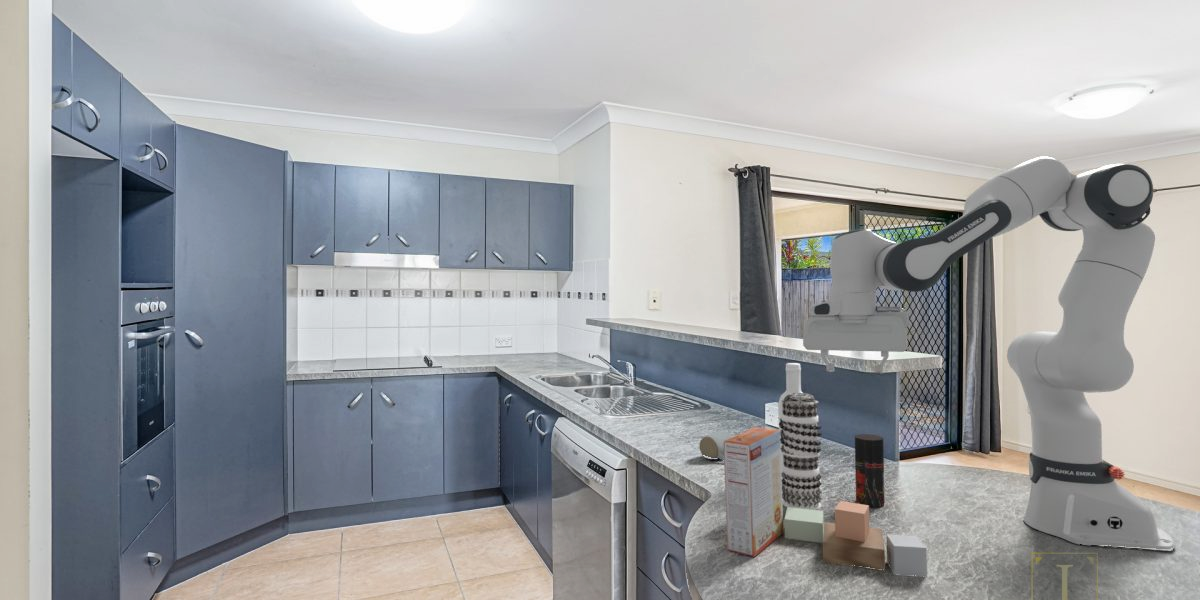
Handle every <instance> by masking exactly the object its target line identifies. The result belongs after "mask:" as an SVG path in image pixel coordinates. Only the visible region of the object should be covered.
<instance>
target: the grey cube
mask: <svg viewBox="0 0 1200 600" xmlns="http://www.w3.org/2000/svg"><path fill="white" fill-rule="evenodd" d="M885 538H886V563H887V562H888V563H887V565H888V566H889V565H890V566H889V567H891V568H890V570H891V569H892V570H893V571H892V570H891V571H892V573H893V572H894V573H893V574H900V575H899V576H904V575H914V576H913V577H918V576H924V577H923V578H927V577H928V573H927V572H928V566H927V565H928V562H927V560H928V559H927V555H928V554H927V547H926V546H925V544H924V542H922V540H921V539H920V537H918V536H916V535H908V534H907V535H903V534H890V533H889V534H888V533H887V534H886V537H885ZM915 575H916V576H915ZM925 576H926V577H925Z"/></svg>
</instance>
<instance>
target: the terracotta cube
mask: <svg viewBox="0 0 1200 600" xmlns="http://www.w3.org/2000/svg"><path fill="white" fill-rule="evenodd" d="M834 523H835V537H841V538H846V539H851V540H857V541H862V542H865V541H866V539H867V537H868V535H869V533H870V530H869V527H870V507H869V505H863V504H857V503H855V502H850V501H845V500H843V501H841V500H840V501H839V502H838V503H837V505H836V507H835V508H834Z"/></svg>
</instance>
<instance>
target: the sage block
mask: <svg viewBox="0 0 1200 600" xmlns="http://www.w3.org/2000/svg"><path fill="white" fill-rule="evenodd" d="M824 520H825V519H824V510H820V509H817V510H810V509H800V508H791V507H786V511H785V515H784V538H785V539H789V540H797V541H804V542H805V541H806V542H812V543H820V544H823V534H824V526H825V521H824Z"/></svg>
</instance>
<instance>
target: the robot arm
mask: <svg viewBox="0 0 1200 600" xmlns="http://www.w3.org/2000/svg"><path fill="white" fill-rule="evenodd" d="M1153 197H1154V184H1153V180H1152V178H1151V176H1150V175H1149V173H1148V172H1147V171H1146V170H1145V169H1144V168H1142V167H1140V166H1139V165H1135V164H1130V163H1116V164H1109V165H1104V166H1101V167H1100V168H1097V169H1092V170H1088V171H1086V172H1082V173H1080V174H1078V175H1077V174H1073V173H1071V172H1070V171H1069V170H1068V168H1067V166H1066V164H1064V163H1063V162H1061V160H1058V159H1057V158H1053V157H1049V156H1039V157H1036V158H1033V159H1030V160H1027V161H1024V162H1022V163H1020V164H1017V165H1015V166H1013V167H1011V168H1009V169H1008V170H1005V171H1003V172H1001V173H1000V174H998V175H996V176H994V177H993V178H992V179H990V180H988V181H986V182H985V183H983V184H982V185H981V186H979V187H978V188H977V189H975V191H973V192H972V193H970V194H969V196H967V198H966V199H965V201H964V206H963V213H964V214H963V215H962V216H960V217H958V218H957V219H955V220H953V221H952V222H951V223H949V224H948V225H946V226H945V227H943V228H941V229H940V230H938V231H937V232H935V233H933V234H932V235H929V236H925V237H918V238H911V239H907V240H905V241H901V242H899V243H897V242H896V241H891V240H889V239H886V238H884V237H882V236H880V235H879V234H876V232H875V233H874V232H873V231H872V230H871V229H870V228H859V229H852V230H850V231H847V232H842V233H840V234H839V235H837V236H835V237H834V239H833V240H832V243H831V248H830V261H829V262H830V264H829V265H830V266H829V268H830V269H829V271H830V272H829V273H830V276H831V279H832V280H831V281H832V285H831V290H830V298H829V299H828V300H822V301H821V302H819V303H815V304H812V305H810V306H809V307H808V314H809V315H810V317H808V318H807V319H806V321H805V323H804V328H803V336H802V337H803V338H802V346H803V347H804V349H806V350H807V351H820V357H821V358H822V360H823V361H824V363H825V364H826V368H825V369H826V373H827V372H828V373H829V372H831V373H833V372H835V370H836V369H835V362H831V361H830V360H829V358H828V356H829V353H830V352H829V351H843V352H844V351H845V352H846V351H847V352H850V351H851V352H854V351H856V352H880V357H881V358H882V359H881V361H880V362H879V364H878V363H874V368H875V369H874V373H875V374H881V375H883V374H884V365H885V363H886V362H887V361H888V359H889V353H891V352H893V353H894V352H895V353H896V352H897V353H903V352H905V351H906V350H907V349H908V346H909V345H908V343H909V342H908V334H907V329H906V328H907V327H908V326H909V324H910V314H909V312H908V311H907V310H906V309H905V308H902V307H901V306H896V305H895V306H881V305H880V306H877V289H878V288H882V289H885V290H889V291H907V292H912V293H914V292H915V293H916V292H923V291H926V290H928V289H930V288H932V287H933V286H935V285H936V284H937V283H938V282H939V281H940V279H941V278H942V277H943V276H944V274H945V273H946V271H947V270H948V268H950V266H951V265H953V263H954V262H955V261H957V260H958V259H960V258H961V257H963V256H964V255H966V254H968V253H970V252H971V251H972V250H974V249H975V248H977V247H978V246H980V245H982V244H983V243H985V242H987V241H988V240H989V239H993V238H995V237H998V236H1000V235H1004V234H1006V233H1008V232H1010V231H1011V232H1012V231H1013V230H1015V229H1017V228H1019V227H1021V226H1023V225H1024V224H1026V223H1028V222H1030V221H1031V220H1033V219H1034V218H1036V217H1038V216H1039V217H1040V219H1041V220H1042V221H1043V222H1044V223H1045V224H1046V225H1047V226H1048V227H1050V228H1053V229H1055V230H1057V231H1062V232H1076V231H1077V232H1078V231H1082V236H1083V242H1082V246H1081V249H1080V251H1079V253H1078V255H1077V256H1076V259H1075V261H1074V263H1073V265H1072V267H1071V269H1070V271H1069V273H1068V275H1067V277H1066V279H1065V281H1064V283H1063V285H1062V288H1061V290H1060V292H1059V294H1058V297H1057V298H1058V300H1057V301H1058V303H1059V305H1060V306H1061V308H1062V310H1063V317H1062V323H1061V327H1060V330H1059V331H1058V332H1057V331H1044V330H1042V331H1034V332H1033V331H1032V332H1030V333H1029V332H1028V333H1025V334H1022V335H1019V336H1017V337H1016V338H1014V340H1012V341H1011V343H1010V344H1009V345H1008V348H1007V350H1006V351H1007V352H1006V353H1007V354H1006V358H1007V363H1008V364H1009V367H1010V368H1011V369H1012V370H1013V372H1014V373H1015V374H1016V376H1017V378H1018V379H1019V381H1020V384H1021V386H1022V390H1023V393H1024V397H1025V399H1026V402H1027V406H1028V409H1029V410H1028V411H1029V414H1030V423H1031V424H1030V427H1031V431H1030V432H1031V452H1029V458H1028V472H1029V473H1028V475H1029V479H1030V482H1031V483H1030V490H1029V498H1028V504H1027V507H1026V510H1025V514H1024V516H1023V521H1024V522H1025V524H1027V525H1028V526H1030V527H1031V528H1033V529H1035V530H1038V531H1040V532H1041V533H1042V532H1043V533H1045V534H1048V535H1052V536H1056V537H1058V538H1061V539H1064V540H1066V541H1067V542H1070V543H1072V544H1075V545H1080V544H1082V546H1091V545H1108V546H1109V545H1111V546H1124V547H1125V546H1126V547H1140V548H1156V549H1171V548H1173V547H1174V548H1175V542H1174V540H1173V537H1171V536H1170V535H1169V534H1168V533H1167V532H1166V531H1164V530H1162V529H1161V528H1160V527H1158V526H1157V521H1156V518H1155V516H1154V512H1153V511H1152V509H1151V507H1149V505H1148V504H1146V502H1145V501H1143V500H1142V499H1140V497H1138V496H1137V495H1135V494H1134V493H1132V491H1130V490H1128V489H1127V488H1125V487H1124V486H1123V485H1121V484H1120V483H1118V482H1116V481H1115V480H1122V479H1123V478H1125V475H1126V474H1125V472H1124V470H1123V469H1121V468H1120V467H1118V466H1114V465H1113V464H1112V463H1109V462H1108V461H1106V460H1104V459H1103V451H1102V450H1103V442H1102V441H1103V440H1102V439H1103V438H1102V434H1103V433H1102V422H1101V420H1100V418H1099V416H1098V415H1097V414H1096V413H1095V412H1094V410H1093V409H1092V408H1091V407H1090V405H1089V403H1088V401H1087V398H1086V396H1085V393H1110V392H1114V391H1118V390H1120V389H1121V388H1123V387H1125V386H1126V385H1127V384H1128V383H1129V381H1130V380H1131V378H1132V376H1133V373H1134V369H1135V364H1134V363H1135V362H1134V359H1133V357H1132V354H1131V353H1130V351H1129V350H1128V349H1127V347H1126V344H1125V340H1124V339H1125V338H1124V337H1125V325H1126V324H1125V323H1126V320H1127V316H1128V312H1129V311H1130V309H1131V306H1132V304H1133V301H1134V300H1135V299H1134V298H1135V297H1136V295H1137V293H1138V290H1139V289H1140V286H1141V284H1142V282H1143V280H1144V278H1145V276H1146V273H1147V271H1148V268H1149V265H1150V262H1151V259H1152V256H1153V251H1154V247H1155V241H1156V235H1155V232H1154V231H1153V229H1152V228H1151V227H1150V226H1149V225H1147V224H1146V223H1144V221H1145V220H1146V219H1147V218H1148V217H1149V215H1150V214H1151V203H1152V202H1153Z"/></svg>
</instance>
